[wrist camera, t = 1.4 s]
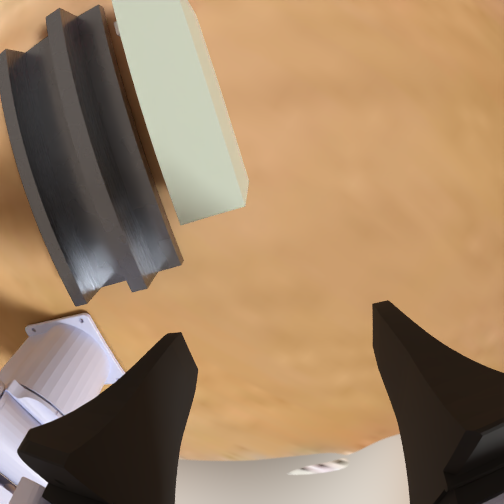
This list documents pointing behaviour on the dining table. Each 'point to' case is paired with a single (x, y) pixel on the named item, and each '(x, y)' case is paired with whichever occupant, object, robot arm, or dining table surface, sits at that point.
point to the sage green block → (182, 107)
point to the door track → (84, 159)
